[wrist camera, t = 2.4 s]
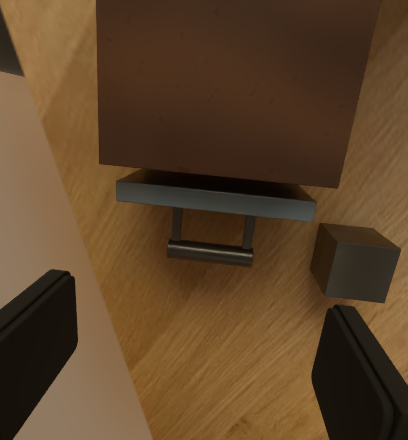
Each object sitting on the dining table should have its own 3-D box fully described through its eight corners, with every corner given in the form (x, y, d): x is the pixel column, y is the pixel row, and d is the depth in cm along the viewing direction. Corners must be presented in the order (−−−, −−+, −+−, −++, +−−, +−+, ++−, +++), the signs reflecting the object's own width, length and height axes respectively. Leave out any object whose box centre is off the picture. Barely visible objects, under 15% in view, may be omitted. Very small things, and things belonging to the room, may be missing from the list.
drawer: (279, 248, 25) (297, 295, 18) (146, 233, 26) (116, 272, 19) (325, -6, 20) (376, -77, 13) (154, -18, 20) (115, -91, 13)
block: (309, 269, 27) (324, 296, 22) (319, 222, 25) (337, 241, 21) (360, 275, 26) (384, 303, 22) (373, 228, 25) (401, 249, 21)
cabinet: (299, 165, 24) (338, 188, 15) (145, 150, 25) (98, 164, 16) (341, -60, 20) (429, -206, 11) (151, -71, 20) (91, -216, 12)
